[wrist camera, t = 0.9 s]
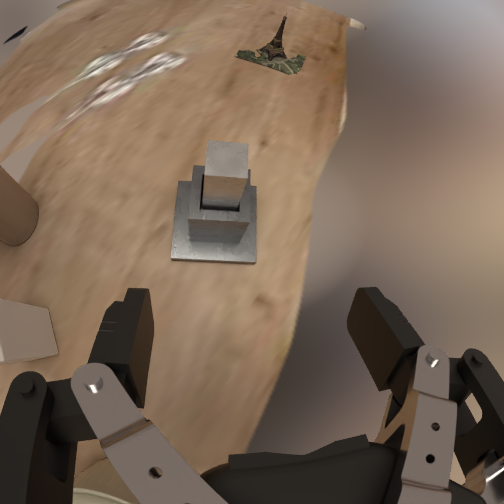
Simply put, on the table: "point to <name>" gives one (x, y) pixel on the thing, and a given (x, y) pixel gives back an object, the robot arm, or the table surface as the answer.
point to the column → (224, 175)
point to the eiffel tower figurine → (275, 55)
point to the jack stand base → (213, 226)
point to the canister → (102, 486)
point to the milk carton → (25, 333)
